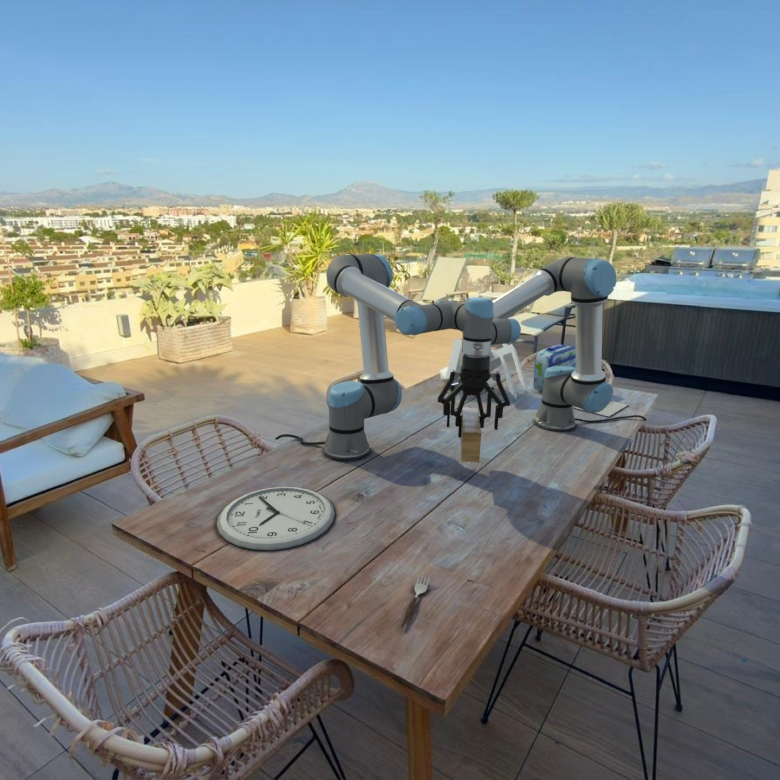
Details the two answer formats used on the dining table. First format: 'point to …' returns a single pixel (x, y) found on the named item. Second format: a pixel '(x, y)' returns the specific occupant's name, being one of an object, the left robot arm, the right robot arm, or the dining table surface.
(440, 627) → the dining table surface
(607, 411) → the invitation card
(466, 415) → the bar
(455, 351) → the white plastic object
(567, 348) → the lunch box
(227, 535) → the wall clock
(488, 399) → the right robot arm
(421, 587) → the fork
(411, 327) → the left robot arm
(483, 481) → the dining table surface
